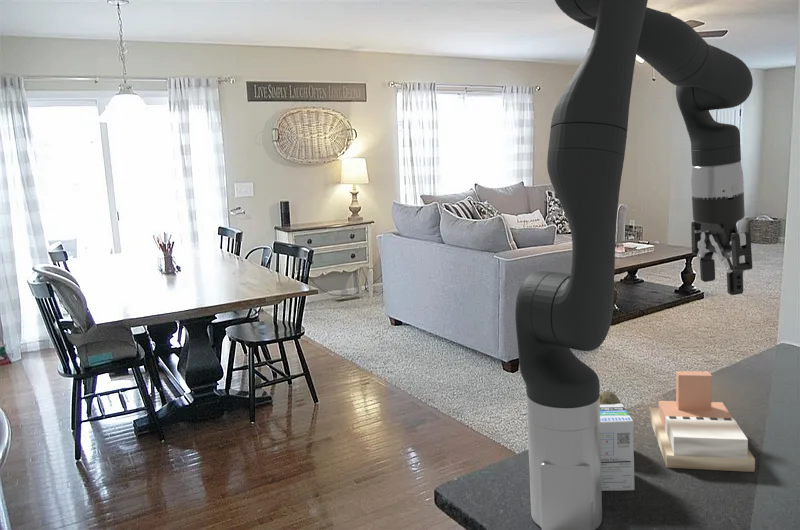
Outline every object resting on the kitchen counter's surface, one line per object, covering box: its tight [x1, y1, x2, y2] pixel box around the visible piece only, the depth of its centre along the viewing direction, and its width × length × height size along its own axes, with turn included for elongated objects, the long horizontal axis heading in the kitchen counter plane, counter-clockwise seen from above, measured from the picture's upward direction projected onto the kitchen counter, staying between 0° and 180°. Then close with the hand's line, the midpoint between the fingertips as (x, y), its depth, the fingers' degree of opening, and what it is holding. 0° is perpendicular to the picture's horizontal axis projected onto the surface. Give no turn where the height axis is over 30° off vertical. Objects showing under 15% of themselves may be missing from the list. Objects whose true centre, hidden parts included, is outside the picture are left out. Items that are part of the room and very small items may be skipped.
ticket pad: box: [649, 407, 756, 473], centre depth 101 cm, size 18×12×5 cm, turn 166°
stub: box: [658, 370, 733, 429], centre depth 102 cm, size 6×10×8 cm, turn 76°
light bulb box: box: [600, 403, 635, 492], centre depth 91 cm, size 11×7×11 cm, turn 84°
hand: (721, 287), depth 104 cm, fingers open, 8 cm apart
